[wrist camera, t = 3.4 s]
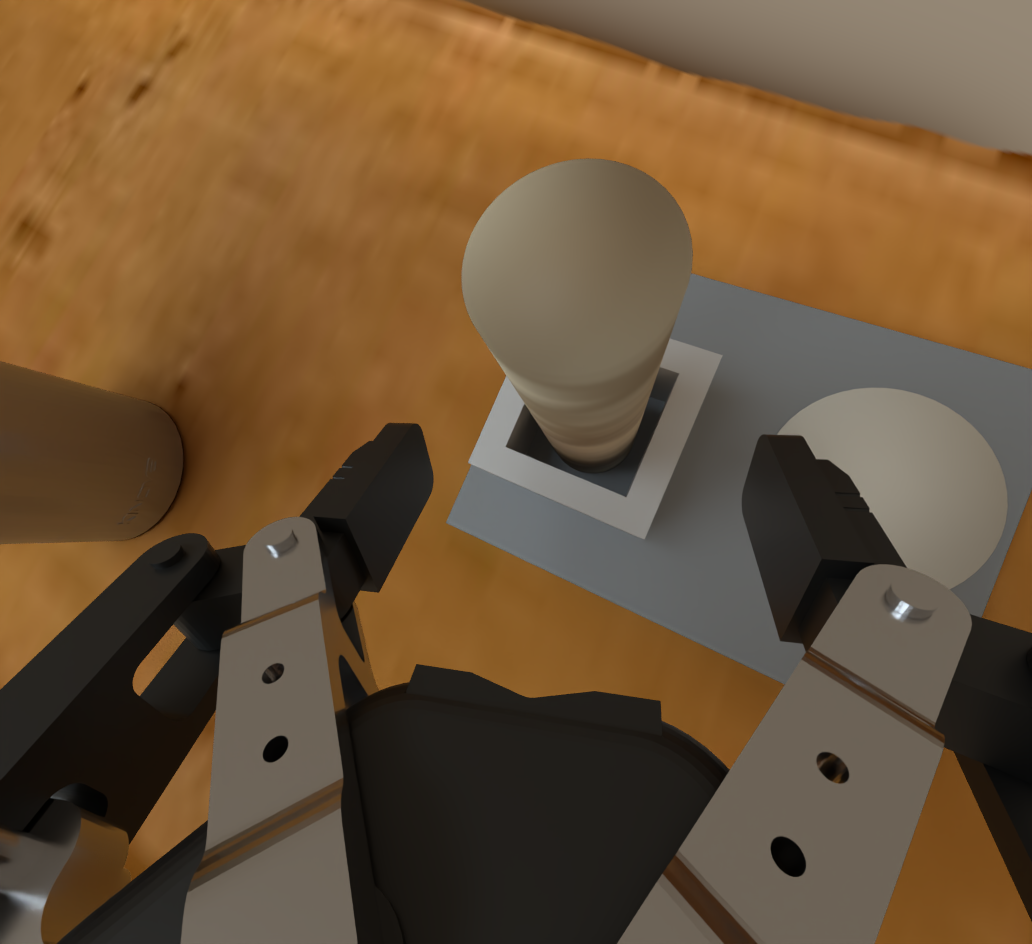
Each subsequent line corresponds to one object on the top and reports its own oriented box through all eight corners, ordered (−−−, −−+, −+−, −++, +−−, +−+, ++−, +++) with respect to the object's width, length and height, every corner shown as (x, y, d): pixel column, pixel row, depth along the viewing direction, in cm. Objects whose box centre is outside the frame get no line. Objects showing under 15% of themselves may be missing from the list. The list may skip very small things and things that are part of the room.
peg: (539, 454, 22) (427, 331, 8) (570, 381, 22) (514, 137, 8) (615, 486, 21) (636, 408, 7) (648, 409, 21) (731, 188, 7)
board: (455, 523, 24) (412, 521, 18) (572, 256, 24) (563, 180, 19) (902, 735, 19) (1023, 819, 13) (1038, 392, 19) (1206, 340, 14)
